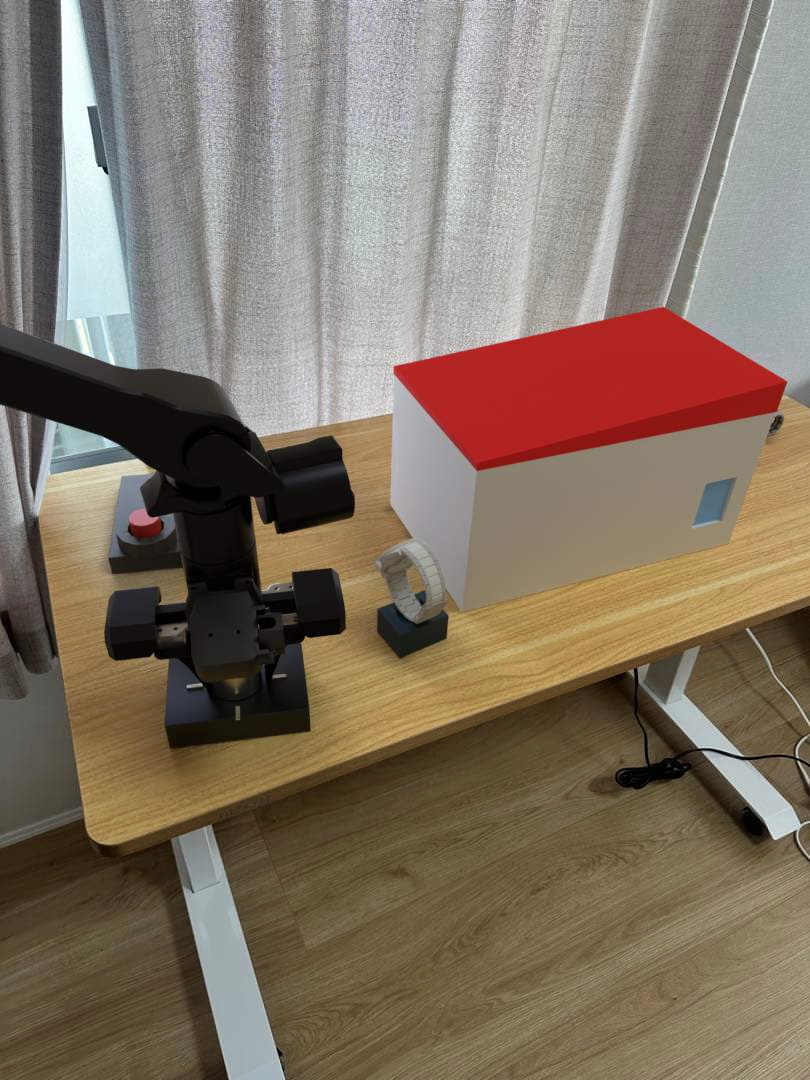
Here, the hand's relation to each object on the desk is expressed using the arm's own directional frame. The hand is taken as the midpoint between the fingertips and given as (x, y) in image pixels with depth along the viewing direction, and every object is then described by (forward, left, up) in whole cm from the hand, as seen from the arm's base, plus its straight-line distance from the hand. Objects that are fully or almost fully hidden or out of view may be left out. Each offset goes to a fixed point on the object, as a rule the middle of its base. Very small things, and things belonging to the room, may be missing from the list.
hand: (239, 681), depth 71 cm
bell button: (-9, +23, +1) cm, 25 cm away
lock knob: (0, 0, 0) cm, 0 cm away
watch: (+17, +6, -3) cm, 18 cm away
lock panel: (0, 0, -3) cm, 3 cm away
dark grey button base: (-9, +28, -3) cm, 30 cm away
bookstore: (+38, +22, -3) cm, 44 cm away
